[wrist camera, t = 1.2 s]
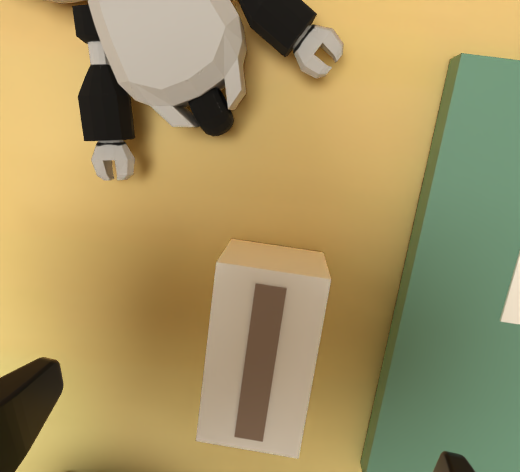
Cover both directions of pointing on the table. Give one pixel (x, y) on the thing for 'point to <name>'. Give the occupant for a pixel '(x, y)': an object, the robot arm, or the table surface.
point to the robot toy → (179, 63)
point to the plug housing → (262, 346)
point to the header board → (459, 289)
